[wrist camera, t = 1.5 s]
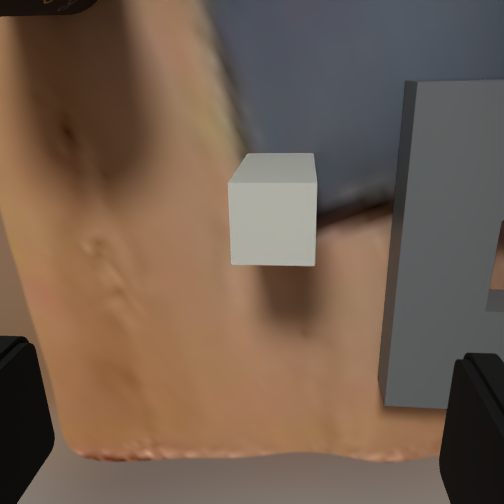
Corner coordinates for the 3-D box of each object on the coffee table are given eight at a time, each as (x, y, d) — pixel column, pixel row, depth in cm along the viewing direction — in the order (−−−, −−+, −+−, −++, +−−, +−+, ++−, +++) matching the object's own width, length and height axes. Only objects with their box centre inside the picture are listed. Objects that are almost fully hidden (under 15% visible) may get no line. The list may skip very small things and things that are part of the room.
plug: (247, 153, 28) (227, 182, 21) (313, 153, 28) (317, 182, 20) (249, 216, 30) (231, 264, 22) (311, 216, 29) (314, 266, 22)
